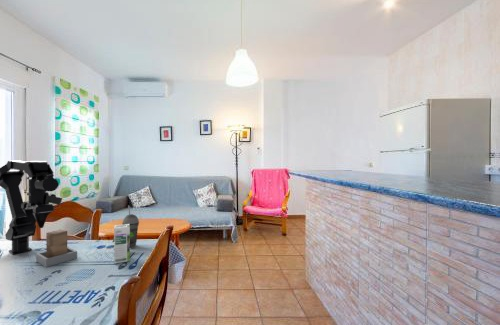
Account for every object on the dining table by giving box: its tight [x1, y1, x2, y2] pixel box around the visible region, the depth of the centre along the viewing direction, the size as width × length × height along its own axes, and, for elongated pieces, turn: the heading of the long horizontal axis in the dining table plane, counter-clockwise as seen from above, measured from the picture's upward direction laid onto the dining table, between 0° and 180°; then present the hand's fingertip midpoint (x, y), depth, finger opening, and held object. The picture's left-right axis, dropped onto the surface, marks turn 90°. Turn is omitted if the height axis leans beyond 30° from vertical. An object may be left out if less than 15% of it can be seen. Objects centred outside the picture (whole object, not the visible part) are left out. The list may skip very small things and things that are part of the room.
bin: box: [35, 246, 78, 268], centre depth 102 cm, size 11×11×3 cm
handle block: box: [45, 229, 68, 258], centre depth 101 cm, size 5×5×11 cm
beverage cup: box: [121, 205, 140, 249], centre depth 117 cm, size 7×7×20 cm
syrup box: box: [113, 224, 131, 265], centre depth 101 cm, size 6×6×14 cm
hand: (37, 226), depth 105 cm, fingers open, 9 cm apart
